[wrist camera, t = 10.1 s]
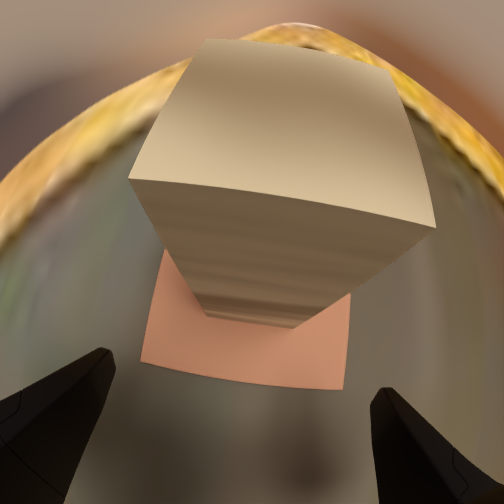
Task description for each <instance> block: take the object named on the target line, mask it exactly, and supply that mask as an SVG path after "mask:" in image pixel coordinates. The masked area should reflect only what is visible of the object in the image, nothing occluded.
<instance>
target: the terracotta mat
mask: <svg viewBox="0 0 504 504" xmlns="http://www.w3.org/2000/svg"><path fill="white" fill-rule="evenodd" d="M350 294H351V292H350V293H349V294H347V295H346V296H344V297H343V298H341V299H340V300H338V301H337V302H335V303H334V304H332V305H331V306H329V307H328V308H326V309H324V310H323V311H321V312H320V313H318V314H317V315H315V316H314V317H312V318H310V319H309V320H307V321H306V322H304V323H302V324H301V325H299V326H297V327H296V328H294V329H288V328H280V327H272V326H265V325H258V324H250V323H244V322H237V321H231V320H224V319H218V318H212V317H208V316H207V315H206V313H205V312H204V310H203V308H202V307H201V305H200V304H199V302H198V301H197V299H196V297H195V296H194V294H193V293H192V291H191V289H190V288H189V286H188V285H187V283H186V281H185V280H184V278H183V276H182V275H181V273H180V271H179V270H178V268H177V266H176V265H175V263H174V261H173V260H172V258H171V256H170V255H169V253H168V251H167V249H166V248H165V250H164V254H163V258H162V261H161V265H160V269H159V273H158V277H157V282H156V286H155V290H154V295H153V299H152V303H151V308H150V313H149V317H148V322H147V327H146V332H145V338H144V343H143V348H142V354H141V360H140V361H142V362H145V363H149V364H153V365H157V366H161V367H165V368H170V369H174V370H179V371H183V372H188V373H193V374H198V375H203V376H209V377H214V378H220V379H226V380H233V381H240V382H247V383H255V384H263V385H272V386H282V387H294V388H308V389H328V390H343V382H344V374H345V364H346V354H347V343H348V330H349V315H350Z"/></svg>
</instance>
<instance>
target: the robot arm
mask: <svg viewBox="0 0 504 504" xmlns="http://www.w3.org/2000/svg"><path fill="white" fill-rule="evenodd" d="M115 371H116V366H115V362H114V358H113V354H112V351H111V350H109V349H106V348H103V347H100V348H97V349H95V350H94V351H92V352H90V353H88V354H86V355H85V356H83V357H81V358H79V359H77V360H76V361H74V362H72V363H70V364H68V365H66V366H65V367H63V368H61V369H59V370H57V371H55V372H54V373H52V374H50V375H48V376H46V377H44V378H43V379H41V380H39V381H37V382H35V383H33V384H32V385H30V386H28V387H26V388H24V389H23V390H20V391H19V392H17V393H15V394H13V395H11V396H9V397H7V398H5V399H3V400H1V401H0V504H63V503H64V501H65V497H66V495H67V492H68V489H69V487H70V484H71V482H72V479H73V477H74V474H75V472H76V469H77V467H78V464H79V462H80V459H81V457H82V455H83V452H84V450H85V447H86V445H87V443H88V441H89V438H90V436H91V434H92V432H93V429H94V427H95V425H96V423H97V421H98V418H99V416H100V414H101V412H102V409H103V407H104V404H105V401H106V398H107V395H108V392H109V389H110V386H111V383H112V380H113V378H114V375H115ZM370 417H371V438H372V449H373V456H374V463H375V471H376V479H377V488H378V497H379V504H504V485H503V484H500V483H498V482H496V481H495V480H493V479H492V478H491V477H489V476H488V475H487V474H485V473H484V472H483V471H481V470H480V469H479V468H477V467H476V466H475V465H474V464H472V463H471V462H470V461H469V460H468V459H466V458H465V457H464V456H463V455H462V454H461V453H460V452H459V451H458V450H457V449H456V448H455V447H453V446H452V445H451V444H450V443H449V442H448V441H447V440H446V439H445V438H444V437H443V436H442V435H441V434H440V433H439V432H438V431H437V430H436V429H435V428H434V427H433V426H432V425H431V424H430V423H428V422H427V421H426V420H425V419H424V418H423V417H422V416H421V415H420V414H419V413H418V412H417V411H416V410H415V409H414V408H413V407H412V406H411V405H410V404H409V403H408V402H407V401H406V400H405V399H403V398H402V397H401V396H400V395H399V394H398V393H397V392H396V391H395V390H394V389H393V388H391V387H383V388H381V389H379V391H378V392H377V394H376V395H375V397H374V399H373V400H372V402H371V404H370Z"/></svg>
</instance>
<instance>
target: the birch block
mask: <svg viewBox="0 0 504 504" xmlns="http://www.w3.org/2000/svg"><path fill="white" fill-rule="evenodd" d="M128 179H129V181H130V183H131V185H132V187H133V189H134V191H135V193H136V195H137V197H138V199H139V201H140V202H141V204H142V206H143V208H144V210H145V212H146V214H147V216H148V217H149V219H150V221H151V223H152V225H153V226H154V228H155V230H156V232H157V234H158V235H159V237H160V239H161V241H162V242H163V244H164V246H165V248H166V249H167V251H168V253H169V255H170V256H171V258H172V260H173V261H174V263H175V265H176V266H177V268H178V270H179V271H180V273H181V275H182V276H183V278H184V280H185V281H186V283H187V285H188V286H189V288H190V289H191V291H192V293H193V294H194V296H195V297H196V299H197V301H198V302H199V304H200V305H201V307H202V308H203V310H204V312H205V313H206V315H207V316H208V317H212V318H218V319H224V320H231V321H237V322H244V323H250V324H258V325H265V326H272V327H280V328H288V329H294V328H296V327H297V326H299V325H301V324H302V323H304V322H306V321H307V320H309V319H310V318H312V317H314V316H315V315H317V314H318V313H320V312H321V311H323V310H324V309H326V308H328V307H329V306H331V305H332V304H334V303H335V302H337V301H338V300H340V299H341V298H343V297H344V296H346V295H347V294H349V293H350V292H352V291H353V290H354V289H356V288H357V287H359V286H360V285H362V284H363V283H365V282H366V281H367V280H369V279H370V278H372V277H373V276H374V275H376V274H377V273H379V272H380V271H381V270H383V269H384V268H385V267H387V266H388V265H389V264H391V263H392V262H393V261H395V260H396V259H397V258H399V257H400V256H401V255H403V254H404V253H405V252H407V251H408V250H409V249H410V248H412V247H413V246H414V245H416V244H417V243H418V242H419V241H421V240H422V239H423V238H424V237H426V236H427V235H428V234H429V233H431V232H432V231H433V230H434V229H435V228H436V224H435V219H434V213H433V208H432V203H431V198H430V194H429V189H428V185H427V181H426V177H425V173H424V169H423V165H422V161H421V158H420V154H419V151H418V148H417V144H416V141H415V138H414V135H413V132H412V129H411V126H410V123H409V120H408V117H407V115H406V112H405V109H404V107H403V104H402V101H401V99H400V96H399V94H398V92H397V89H396V87H395V84H394V82H393V80H392V78H391V75H390V73H389V71H388V70H386V69H383V68H380V67H377V66H374V65H370V64H367V63H364V62H361V61H357V60H354V59H350V58H346V57H342V56H338V55H334V54H330V53H326V52H321V51H317V50H312V49H306V48H301V47H295V46H289V45H282V44H275V43H267V42H258V41H246V40H230V39H206V40H205V42H204V43H203V45H202V46H201V48H200V49H199V50H198V52H197V53H196V55H195V56H194V58H193V59H192V61H191V62H190V64H189V65H188V67H187V68H186V70H185V71H184V73H183V75H182V76H181V78H180V79H179V81H178V83H177V84H176V86H175V88H174V89H173V91H172V93H171V94H170V96H169V98H168V99H167V101H166V103H165V105H164V106H163V108H162V110H161V112H160V114H159V115H158V117H157V119H156V121H155V123H154V125H153V127H152V129H151V131H150V133H149V134H148V136H147V138H146V140H145V142H144V145H143V147H142V149H141V151H140V153H139V155H138V157H137V159H136V161H135V164H134V166H133V168H132V170H131V172H130V175H129V177H128Z"/></svg>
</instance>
